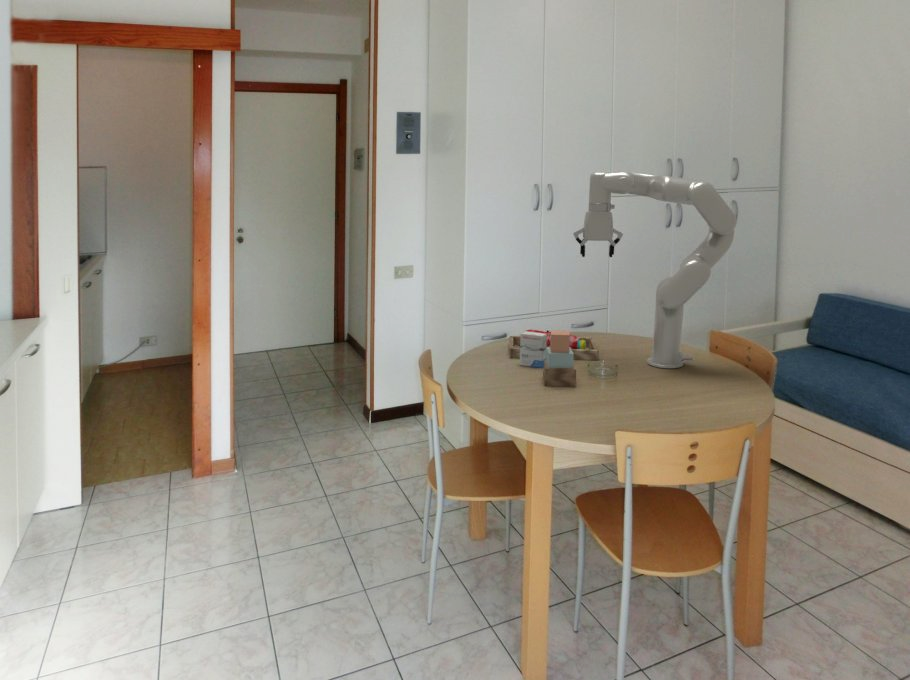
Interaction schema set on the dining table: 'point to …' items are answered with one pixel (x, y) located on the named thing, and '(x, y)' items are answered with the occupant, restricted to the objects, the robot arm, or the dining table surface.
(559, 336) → the rust cube
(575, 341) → the water bottle
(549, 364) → the teal block
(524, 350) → the ink box
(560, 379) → the walnut block
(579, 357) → the bottle cradle
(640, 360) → the dining table surface
